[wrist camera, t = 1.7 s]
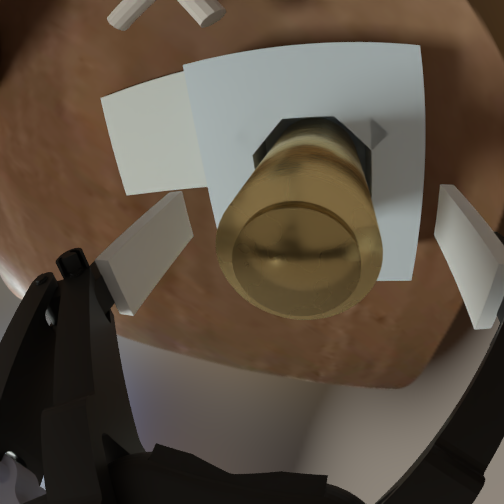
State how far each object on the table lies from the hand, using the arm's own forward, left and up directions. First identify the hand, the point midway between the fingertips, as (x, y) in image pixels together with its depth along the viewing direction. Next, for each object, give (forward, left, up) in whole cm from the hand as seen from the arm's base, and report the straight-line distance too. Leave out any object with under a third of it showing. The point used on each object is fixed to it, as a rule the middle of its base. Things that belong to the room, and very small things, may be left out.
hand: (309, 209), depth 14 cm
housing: (0, 0, -9) cm, 9 cm away
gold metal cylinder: (0, 0, -9) cm, 9 cm away
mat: (-3, -13, -10) cm, 16 cm away
